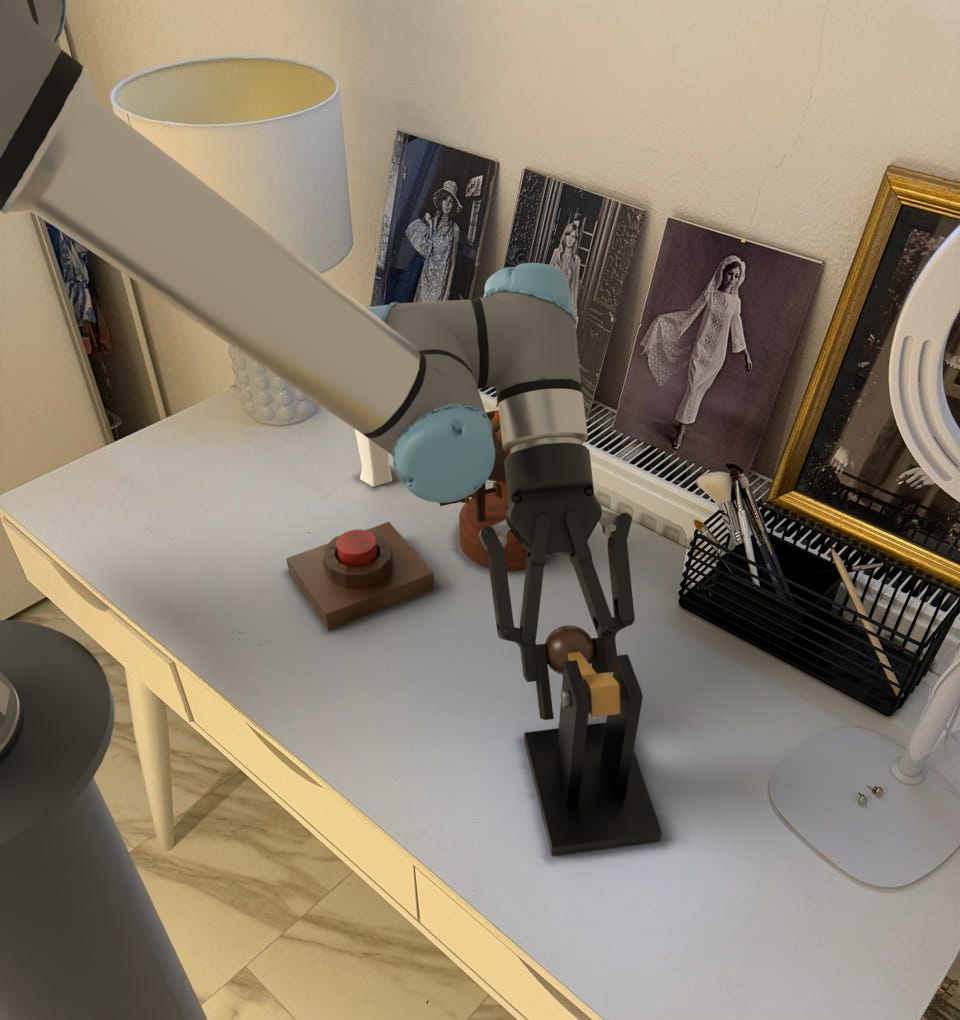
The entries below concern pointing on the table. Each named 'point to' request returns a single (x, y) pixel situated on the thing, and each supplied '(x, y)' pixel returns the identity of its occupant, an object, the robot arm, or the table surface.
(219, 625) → the table surface
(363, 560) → the button
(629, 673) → the lever bracket
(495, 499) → the music box
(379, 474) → the perfume bottle
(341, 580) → the button housing
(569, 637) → the lever
